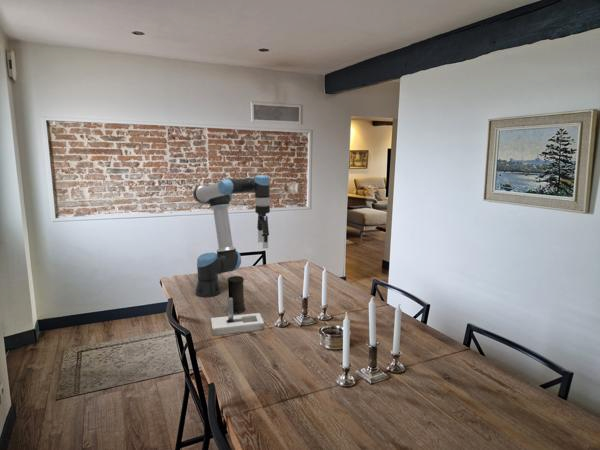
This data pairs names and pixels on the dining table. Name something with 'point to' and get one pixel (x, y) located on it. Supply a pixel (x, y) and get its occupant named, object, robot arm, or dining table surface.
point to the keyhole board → (237, 324)
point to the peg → (230, 310)
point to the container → (236, 293)
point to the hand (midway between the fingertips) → (263, 245)
